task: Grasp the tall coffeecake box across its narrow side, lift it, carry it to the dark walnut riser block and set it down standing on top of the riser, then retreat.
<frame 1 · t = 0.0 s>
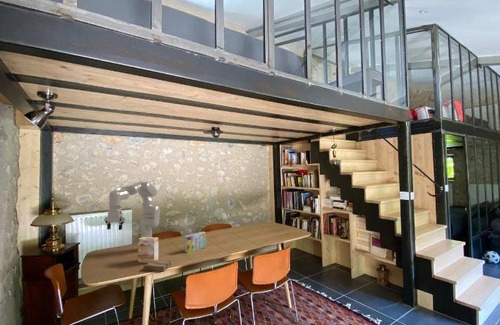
hand: (114, 229, 186), 31 cm above the table, fingers open, 9 cm apart
walnut riser: (157, 268, 189), on the table
coffeecake box: (148, 261, 202), on the table
snack box: (195, 249, 230), on the table
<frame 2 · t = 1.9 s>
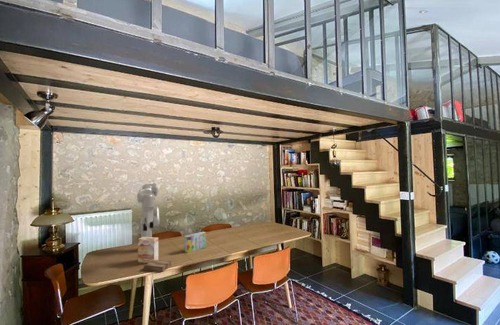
hand: (148, 229, 202), 27 cm above the table, fingers open, 9 cm apart
nothing on the table moved.
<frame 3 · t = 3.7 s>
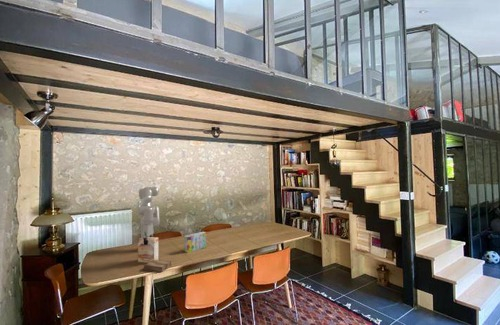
hand: (148, 242, 203), 15 cm above the table, fingers closed on coffeecake box, 7 cm apart
coffeecake box: (148, 261, 202), on the table, touching gripper
everything else where it was.
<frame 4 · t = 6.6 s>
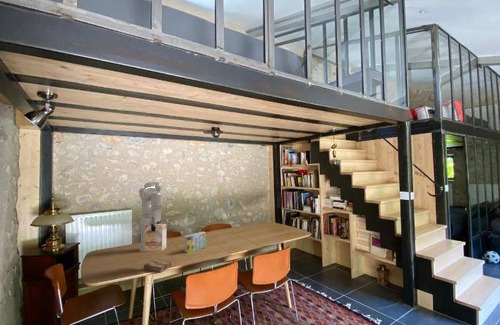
hand: (155, 229, 192), 29 cm above the table, fingers closed on coffeecake box, 7 cm apart
coffeecake box: (155, 249, 191), point 14 cm above the table, touching gripper
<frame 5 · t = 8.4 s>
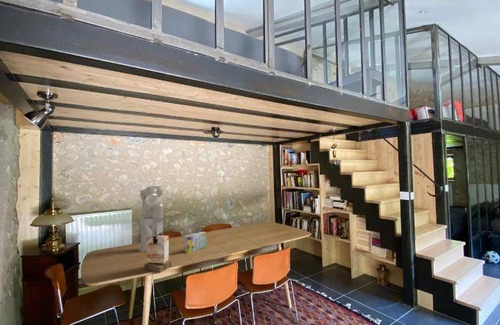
hand: (157, 241, 189), 21 cm above the table, fingers closed on coffeecake box, 7 cm apart
coffeecake box: (157, 261, 189), point 5 cm above the table, touching gripper
when the fingers open (20 cm above the table, at t = 9.5 s): coffeecake box drops 1 cm, resting on walnut riser.
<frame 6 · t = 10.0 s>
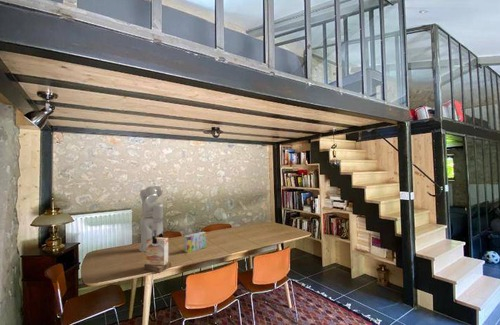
hand: (157, 241, 189), 21 cm above the table, fingers open, 9 cm apart
walnut riser: (157, 268, 189), on the table, touching coffeecake box
coffeecake box: (157, 263, 189), point 3 cm above the table, touching walnut riser
everything else where it was.
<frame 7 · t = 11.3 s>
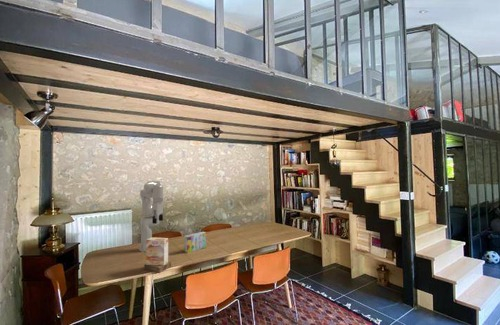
hand: (157, 221, 189), 36 cm above the table, fingers open, 9 cm apart
walnut riser: (157, 268, 189), on the table
coffeecake box: (157, 263, 188), point 4 cm above the table
everything else where it was.
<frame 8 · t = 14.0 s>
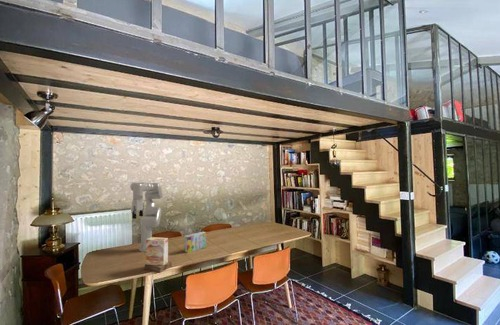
hand: (137, 217, 206), 36 cm above the table, fingers open, 9 cm apart
walnut riser: (158, 268, 189), on the table, touching coffeecake box
coffeecake box: (157, 263, 188), point 4 cm above the table, touching walnut riser
everything else where it was.
at the end: coffeecake box inside the target area on the walnut riser (1.0 cm from its centre), point 4.2 cm above the walnut riser's base; coffeecake box tilted 1°; the gripper is holding nothing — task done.
